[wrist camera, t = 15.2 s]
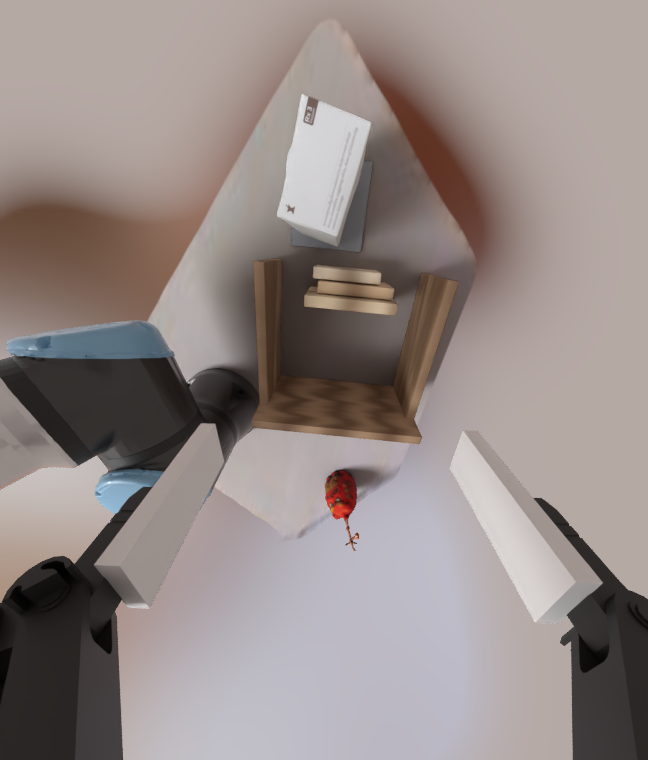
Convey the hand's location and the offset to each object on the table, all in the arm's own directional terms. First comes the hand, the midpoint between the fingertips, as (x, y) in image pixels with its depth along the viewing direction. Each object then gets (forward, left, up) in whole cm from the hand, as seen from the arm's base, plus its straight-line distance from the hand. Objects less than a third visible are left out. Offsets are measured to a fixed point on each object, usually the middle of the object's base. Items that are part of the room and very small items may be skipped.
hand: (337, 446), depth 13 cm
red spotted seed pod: (+5, -38, -30) cm, 49 cm away
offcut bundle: (+1, +5, -30) cm, 31 cm away
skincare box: (-3, +15, -30) cm, 33 cm away
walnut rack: (+1, -3, -30) cm, 30 cm away
